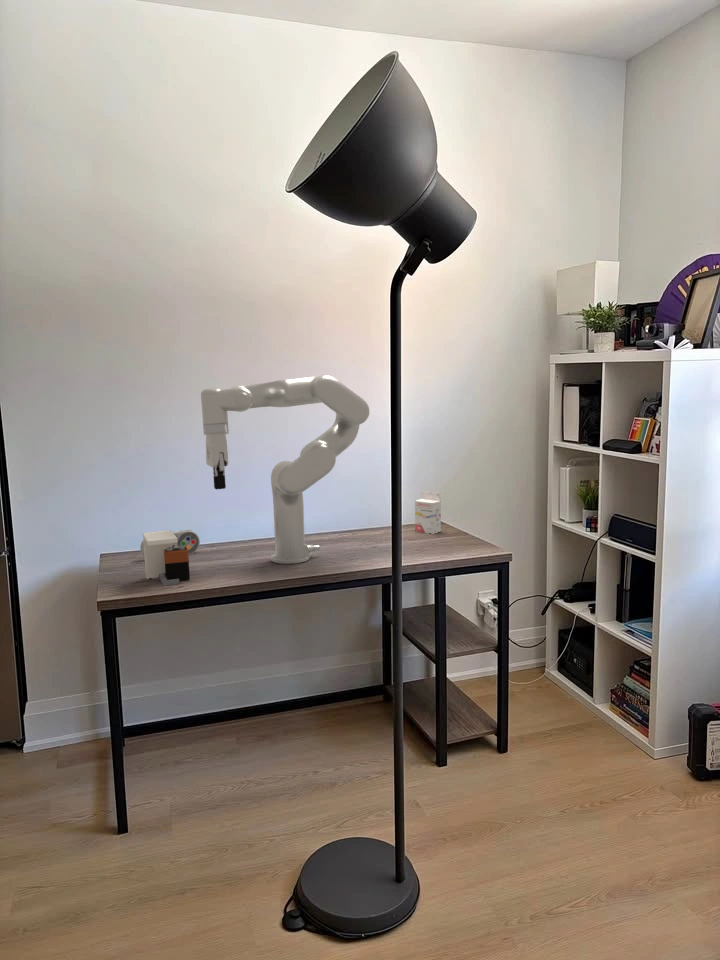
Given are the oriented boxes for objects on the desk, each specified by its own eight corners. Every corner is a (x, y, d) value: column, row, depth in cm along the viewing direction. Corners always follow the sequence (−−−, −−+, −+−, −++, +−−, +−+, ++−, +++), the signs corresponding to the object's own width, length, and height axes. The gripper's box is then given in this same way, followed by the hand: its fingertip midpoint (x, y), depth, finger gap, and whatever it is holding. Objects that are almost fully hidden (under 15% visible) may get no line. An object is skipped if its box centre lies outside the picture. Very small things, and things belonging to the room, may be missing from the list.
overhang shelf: (173, 574, 221) (170, 530, 219) (180, 584, 210) (177, 538, 208) (146, 578, 218) (142, 533, 216) (151, 588, 207) (148, 541, 205)
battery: (190, 580, 215) (187, 547, 213) (166, 582, 213) (163, 549, 212) (189, 576, 219) (187, 543, 217) (165, 578, 217) (163, 545, 216)
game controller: (142, 562, 238) (141, 537, 237) (141, 560, 240) (139, 535, 239) (200, 552, 248) (199, 528, 247) (198, 551, 250) (197, 527, 248)
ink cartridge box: (414, 531, 270) (413, 492, 268) (421, 529, 274) (421, 490, 272) (434, 534, 265) (433, 494, 263) (441, 531, 269) (441, 492, 267)
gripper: (198, 428, 229) (202, 486, 232) (209, 431, 215) (213, 493, 218) (222, 427, 232) (226, 484, 235) (234, 429, 218) (238, 490, 221)
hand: (220, 488), depth 226 cm, fingers closed
